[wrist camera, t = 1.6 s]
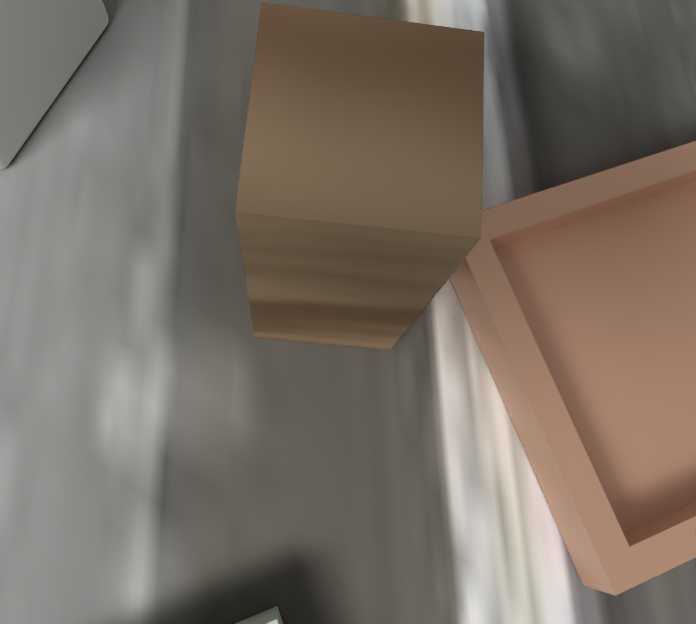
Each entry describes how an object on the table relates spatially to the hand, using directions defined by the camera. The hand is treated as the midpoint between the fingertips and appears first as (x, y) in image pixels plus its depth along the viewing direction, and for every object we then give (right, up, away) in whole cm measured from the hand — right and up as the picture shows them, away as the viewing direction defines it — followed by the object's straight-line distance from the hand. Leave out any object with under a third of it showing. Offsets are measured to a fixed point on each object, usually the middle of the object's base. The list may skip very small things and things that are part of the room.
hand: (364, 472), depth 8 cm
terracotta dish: (+11, +1, +15) cm, 18 cm away
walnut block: (-1, +3, +14) cm, 14 cm away
